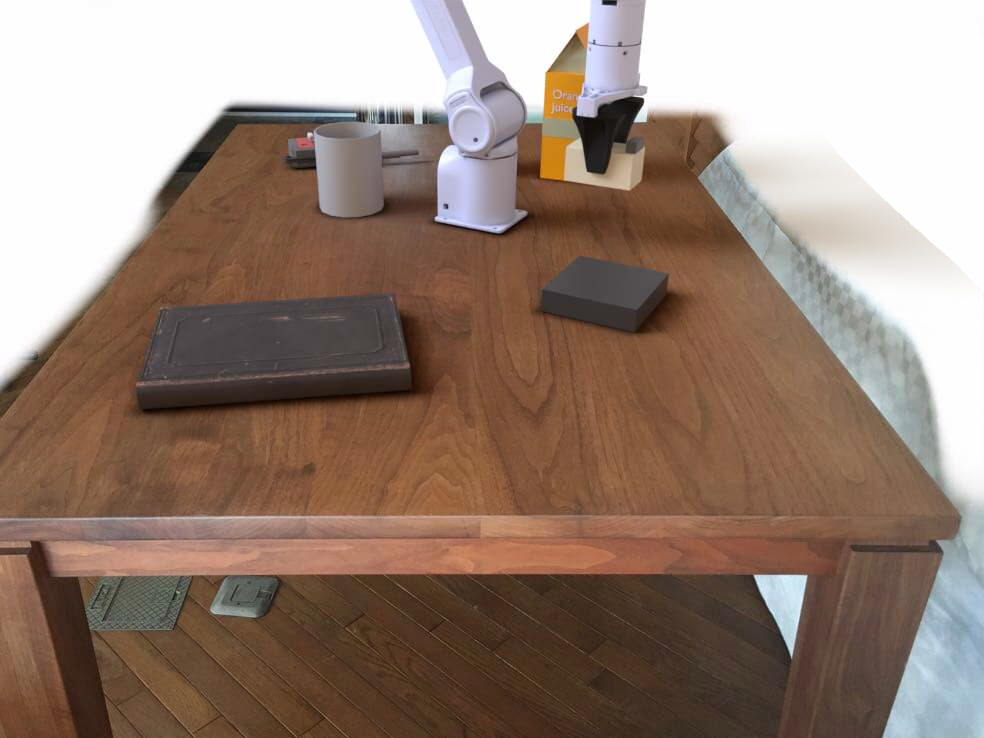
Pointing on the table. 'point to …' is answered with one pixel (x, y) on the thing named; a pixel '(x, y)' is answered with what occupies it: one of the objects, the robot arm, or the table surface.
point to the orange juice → (562, 104)
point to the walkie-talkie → (305, 152)
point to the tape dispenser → (620, 170)
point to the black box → (605, 293)
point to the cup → (349, 168)
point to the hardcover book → (274, 351)
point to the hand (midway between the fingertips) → (603, 167)
